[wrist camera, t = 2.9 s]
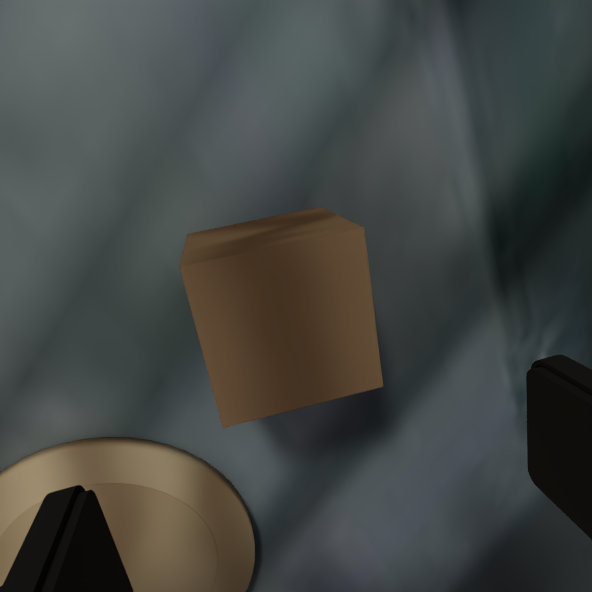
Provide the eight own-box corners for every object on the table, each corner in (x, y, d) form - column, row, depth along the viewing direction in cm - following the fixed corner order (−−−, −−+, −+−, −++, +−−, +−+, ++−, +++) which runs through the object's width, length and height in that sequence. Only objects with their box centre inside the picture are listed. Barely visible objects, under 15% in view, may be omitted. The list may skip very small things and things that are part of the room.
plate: (220, 403, 22) (220, 413, 21) (276, 613, 27) (278, 628, 26) (-107, 486, 20) (-121, 500, 19) (17, 694, 25) (10, 712, 24)
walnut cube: (320, 206, 20) (364, 227, 15) (338, 327, 22) (383, 386, 17) (187, 233, 19) (179, 266, 14) (218, 355, 21) (223, 428, 16)
